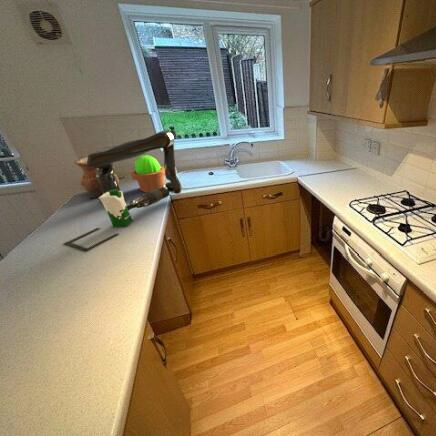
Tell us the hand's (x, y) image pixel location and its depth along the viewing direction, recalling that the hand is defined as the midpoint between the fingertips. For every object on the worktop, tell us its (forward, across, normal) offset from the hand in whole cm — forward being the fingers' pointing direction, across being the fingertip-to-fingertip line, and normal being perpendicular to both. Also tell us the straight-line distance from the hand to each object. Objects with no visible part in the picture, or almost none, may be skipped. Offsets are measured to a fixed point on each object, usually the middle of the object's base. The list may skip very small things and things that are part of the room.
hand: (126, 208), depth 133 cm
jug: (-23, -59, +7) cm, 64 cm away
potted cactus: (-42, -31, +7) cm, 53 cm away
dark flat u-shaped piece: (+20, 0, +7) cm, 21 cm away
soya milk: (+4, 0, +8) cm, 9 cm away
